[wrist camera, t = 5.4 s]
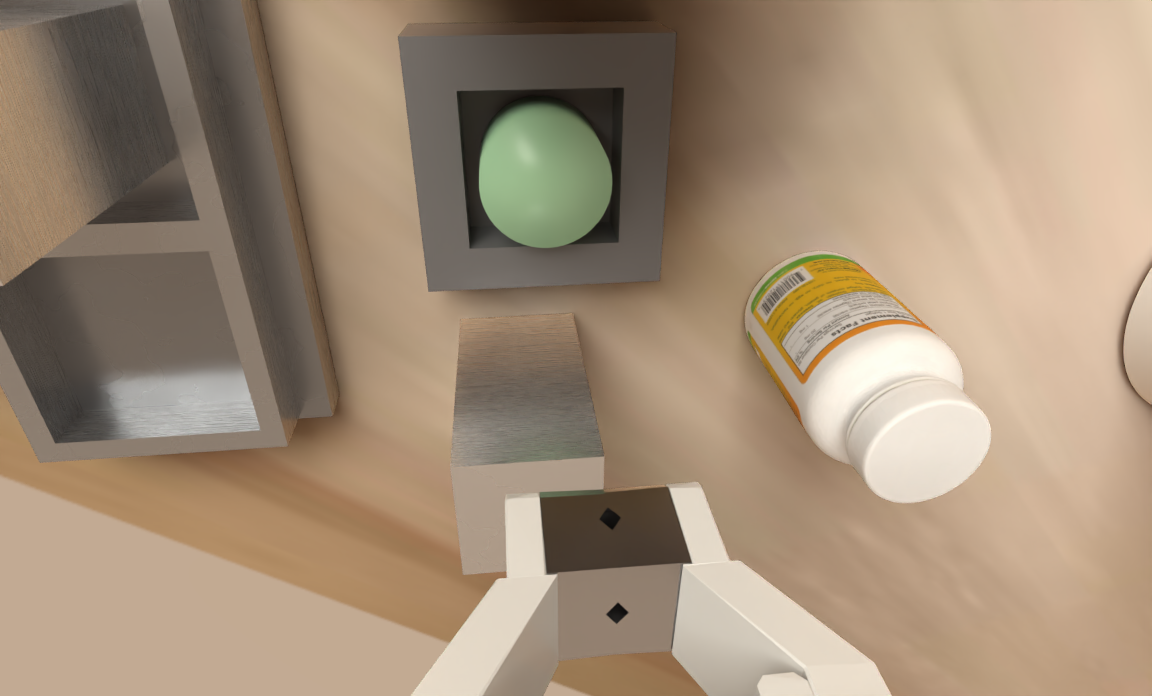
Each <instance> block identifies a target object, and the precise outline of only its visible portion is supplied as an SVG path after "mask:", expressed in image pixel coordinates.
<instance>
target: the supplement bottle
mask: <svg viewBox="0 0 1152 696" xmlns="http://www.w3.org/2000/svg"><path fill="white" fill-rule="evenodd" d="M745 329H746V333H747V337H748V339H749V341H750V343H751V345H752V347H753V349H754V350H755V352H756V354H757V355H758V357H759V358H760V360H761V361H762V363H763V364H764V366H765V368H766V369H767V371H768V372H769V374H770V375H771V377H772V378H773V380H774V382H775V383H776V385H777V386H778V388H779V389H780V391H781V393H782V394H783V396H784V397H785V399H786V401H787V402H788V404H789V405H790V407H791V409H792V410H793V412H794V413H795V415H796V417H797V418H798V420H799V422H800V423H801V425H802V426H803V428H804V430H805V431H806V432H807V434H808V435H809V437H810V438H811V439H812V441H813V442H814V443H815V445H816V446H817V447H818V448H819V449H820V450H821V451H823V452H824V453H825V454H827V455H828V456H830V457H831V458H833V459H835V460H837V461H840V462H842V463H846V464H850V465H852V466H853V468H854V469H855V470H856V471H857V473H858V474H859V475H860V476H861V478H862V479H863V481H864V482H865V483H866V485H867V486H868V488H869V489H870V490H871V491H872V492H873V493H875V494H876V495H877V496H879V497H881V498H883V499H885V500H888V501H891V502H896V503H917V502H923V501H927V500H930V499H933V498H936V497H939V496H941V495H943V494H945V493H947V492H949V491H951V490H952V489H954V488H956V487H957V486H959V485H960V484H962V483H963V482H964V481H965V480H967V479H968V478H969V477H970V476H971V475H972V474H973V473H974V472H975V470H976V469H977V468H978V467H979V466H980V464H981V463H982V461H983V460H984V458H985V456H986V454H987V452H988V449H989V446H990V442H991V427H990V423H989V421H988V419H987V417H986V415H985V414H984V412H983V411H982V410H981V409H980V408H979V407H978V406H977V405H976V404H975V403H974V402H973V401H972V400H971V399H970V398H969V397H968V396H967V395H966V394H965V393H964V392H963V388H964V379H963V372H962V368H961V365H960V362H959V360H958V358H957V356H956V355H955V353H954V352H953V351H952V349H951V348H950V347H949V346H948V345H947V344H946V343H945V342H944V341H943V340H942V339H941V338H940V337H939V336H938V335H937V334H936V333H934V332H933V331H932V330H931V329H930V328H929V327H928V326H927V325H925V324H924V323H923V322H922V321H921V320H920V319H919V318H918V317H916V316H915V315H914V314H913V313H912V312H911V311H910V310H909V309H908V308H907V307H906V306H905V305H904V304H902V303H901V302H900V301H899V300H898V299H897V298H896V297H895V296H894V295H892V294H891V293H890V292H889V291H888V290H887V289H886V288H885V287H883V286H882V285H881V284H880V283H879V282H878V281H877V280H876V279H875V278H874V277H872V276H871V275H870V274H869V273H868V272H867V271H866V270H865V269H863V268H862V267H861V266H860V265H859V264H857V263H856V262H855V261H853V260H852V259H850V258H848V257H846V256H844V255H842V254H839V253H834V252H829V251H811V252H806V253H802V254H798V255H795V256H793V257H791V258H788V259H786V260H785V261H783V262H781V263H780V264H778V265H776V266H775V267H774V268H772V269H771V270H770V271H769V272H768V273H766V274H765V275H764V276H763V278H762V279H761V280H760V281H759V282H758V284H757V285H756V286H755V288H754V289H753V291H752V293H751V295H750V297H749V300H748V302H747V306H746V310H745Z"/></svg>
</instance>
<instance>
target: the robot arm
mask: <svg viewBox="0 0 1152 696" xmlns="http://www.w3.org/2000/svg"><path fill="white" fill-rule="evenodd" d="M1123 353H1124V363H1125V368H1126V372H1127V375H1128V378H1129V380H1130V382H1131V384H1132V386H1133V387H1134V389H1135V390H1136V391H1137V393H1138V394H1139V395H1140V396H1141V397H1142V398H1143V399H1144V400H1145V401H1147V402H1148V403H1149V404H1151V405H1152V268H1151V269H1150V271H1149V273H1148V274H1147V276H1146V278H1145V280H1144V282H1143V283H1142V285H1141V287H1140V289H1139V291H1138V294H1137V296H1136V298H1135V301H1134V303H1133V306H1132V308H1131V311H1130V314H1129V318H1128V321H1127V325H1126V330H1125V336H1124V350H1123ZM505 526H506V564H507V578H501V579H496V581H495V582H494V584H493V585H492V586H491V588H490V589H489V590H488V592H487V593H486V594H485V596H484V597H483V598H482V600H481V601H480V602H479V604H478V605H477V607H476V608H475V609H474V611H473V612H472V613H471V615H470V616H469V617H468V619H467V620H466V621H465V623H464V624H463V625H462V627H461V628H460V629H459V631H458V632H457V634H456V635H455V636H454V638H453V639H452V640H451V642H450V643H449V644H448V646H447V647H446V649H445V650H444V651H443V653H442V654H441V655H440V657H439V658H438V659H437V661H436V662H435V663H434V665H433V666H432V667H431V669H430V670H429V671H428V673H427V674H426V675H425V677H424V678H423V680H422V681H421V682H420V684H419V685H418V686H417V688H416V689H415V690H414V692H413V693H412V694H411V696H543V695H544V693H545V691H546V689H547V687H548V685H549V683H550V681H551V679H552V677H553V675H554V673H555V671H556V669H557V667H558V661H563V660H572V659H580V658H589V657H597V656H606V655H614V654H632V653H648V652H665V651H672V655H673V656H674V657H675V658H676V659H677V661H678V662H679V663H680V664H681V665H682V666H683V667H684V669H685V670H686V671H687V672H688V673H689V674H690V675H691V677H692V678H693V679H694V680H695V681H696V682H697V683H698V685H699V686H700V687H701V688H702V689H703V690H704V691H705V693H706V694H707V695H708V696H891V694H890V692H889V690H888V688H887V686H886V684H885V682H884V680H883V678H882V676H881V674H880V673H879V671H878V669H877V667H876V665H875V663H874V662H873V661H871V660H870V659H869V658H867V657H866V656H865V655H864V654H862V653H861V652H860V651H858V650H857V649H856V648H854V647H853V646H852V645H850V644H849V643H848V642H846V641H845V640H844V639H843V638H841V637H840V636H839V635H837V634H836V633H835V632H833V631H832V630H831V629H829V628H828V627H827V626H825V625H824V624H823V623H822V622H820V621H819V620H818V619H816V618H815V617H814V616H812V615H811V614H810V613H808V612H807V611H806V610H804V609H803V608H802V607H801V606H799V605H798V604H797V603H795V602H794V601H793V600H791V599H790V598H789V597H787V596H786V595H785V594H783V593H782V592H781V591H780V590H778V589H777V588H776V587H774V586H773V585H772V584H770V583H769V582H768V581H766V580H765V579H764V578H762V577H761V576H760V575H759V574H757V573H756V572H755V571H753V570H752V569H751V568H749V567H748V566H747V565H745V564H744V563H743V562H741V561H740V560H738V561H730V559H729V556H728V553H727V551H726V548H725V546H724V543H723V540H722V538H721V535H720V533H719V530H718V527H717V525H716V522H715V520H714V517H713V514H712V512H711V509H710V507H709V504H708V501H707V499H706V496H705V494H704V491H703V488H702V486H701V485H700V484H699V483H698V482H687V483H674V484H666V485H653V486H640V487H626V488H612V489H601V490H577V491H552V492H539V494H538V493H521V494H506V497H505Z"/></svg>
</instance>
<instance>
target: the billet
mask: <svg viewBox="0 0 1152 696" xmlns="http://www.w3.org/2000/svg"><path fill="white" fill-rule="evenodd" d="M450 469H451V477H452V486H453V494H454V503H455V511H456V519H457V528H458V536H459V545H460V553H461V561H462V570H463V575H468V574H480V573H492V572H504V571H507V564H506V526H505V497H506V494H521V493H538V494H539V492H552V491H577V490H601V489H604V452H603V448H602V443H601V439H600V434H599V430H598V425H597V420H596V416H595V411H594V407H593V402H592V398H591V393H590V389H589V384H588V380H587V375H586V371H585V366H584V361H583V357H582V352H581V348H580V343H579V339H578V334H577V330H576V325H575V321H574V316H573V313H568V314H549V315H529V316H509V317H489V318H469V319H460V334H459V348H458V363H457V377H456V392H455V406H454V421H453V435H452V450H451V464H450Z"/></svg>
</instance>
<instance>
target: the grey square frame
mask: <svg viewBox="0 0 1152 696" xmlns="http://www.w3.org/2000/svg"><path fill="white" fill-rule="evenodd" d="M676 35H677V33H676V32H675V31H673V30H671V29H669V28H668V27H666V26H664V25H662V24H660V23H659V22H657V21H599V22H517V23H436V24H408V25H407V26H406V27H405V28H404V30H403V31H402V32H401V33H400V35H399V36H398V41H399V49H400V57H401V66H402V74H403V82H404V91H405V99H406V107H407V116H408V124H409V132H410V141H411V149H412V157H413V166H414V174H415V182H416V191H417V199H418V208H419V216H420V224H421V233H422V241H423V249H424V258H425V266H426V274H427V283H428V291H429V292H433V291H454V290H476V289H497V288H518V287H539V286H560V285H582V284H603V283H624V282H645V281H660V270H661V255H662V240H663V226H664V211H665V196H666V182H667V167H668V152H669V137H670V123H671V108H672V93H673V79H674V64H675V49H676ZM529 96H549V97H555V98H558V99H561V100H563V101H565V102H567V103H569V104H571V105H572V106H574V107H575V108H577V109H578V110H579V111H580V112H581V113H582V114H583V115H584V116H585V117H586V119H587V120H588V121H589V123H590V124H591V126H592V128H593V130H594V132H595V134H596V136H597V138H598V139H599V141H600V143H601V145H602V147H603V149H604V151H605V153H606V155H607V157H608V160H609V163H610V166H611V172H612V192H611V197H610V201H609V204H608V206H607V209H606V211H605V213H604V214H603V216H602V218H601V219H600V220H599V222H598V223H597V224H596V225H595V226H594V228H593V229H591V230H590V231H589V232H588V233H587V234H586V235H584V236H583V237H581V238H580V239H578V240H576V241H574V242H572V243H569V244H566V245H563V246H559V247H552V248H537V247H531V246H527V245H523V244H521V243H518V242H516V241H514V240H512V239H511V238H509V237H507V236H506V235H505V234H503V233H502V232H501V231H500V230H499V229H498V228H497V227H496V226H495V225H494V224H493V223H492V221H491V220H490V219H489V217H488V215H487V213H486V212H485V209H484V207H483V205H482V201H481V197H480V191H479V165H480V147H481V142H482V138H483V135H484V132H485V130H486V128H487V126H488V125H489V123H490V121H491V120H492V119H493V117H494V116H495V115H496V114H497V113H498V112H499V111H500V110H501V109H503V108H504V107H505V106H507V105H508V104H510V103H512V102H514V101H516V100H519V99H521V98H525V97H529Z"/></svg>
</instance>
